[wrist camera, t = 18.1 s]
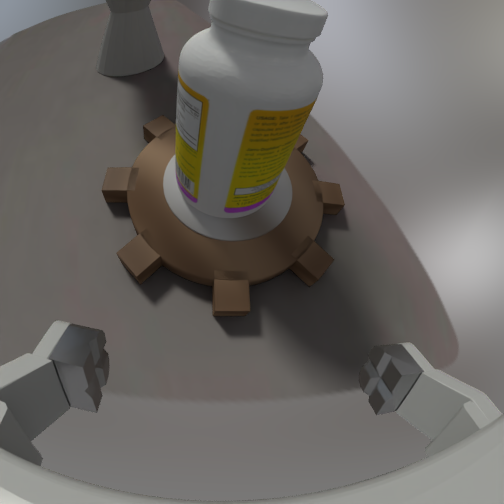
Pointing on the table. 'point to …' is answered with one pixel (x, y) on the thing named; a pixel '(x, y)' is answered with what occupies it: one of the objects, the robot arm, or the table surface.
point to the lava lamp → (129, 40)
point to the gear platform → (220, 225)
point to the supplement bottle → (244, 101)
